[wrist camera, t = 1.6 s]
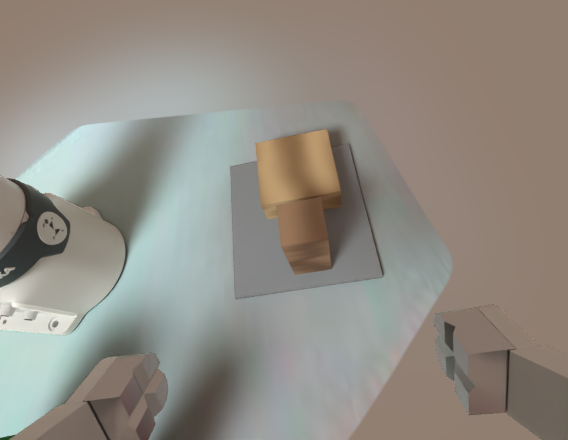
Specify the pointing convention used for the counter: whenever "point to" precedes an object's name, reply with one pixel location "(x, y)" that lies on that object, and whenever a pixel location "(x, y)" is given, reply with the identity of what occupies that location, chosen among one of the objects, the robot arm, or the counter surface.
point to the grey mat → (266, 239)
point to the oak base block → (297, 171)
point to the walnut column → (304, 235)
